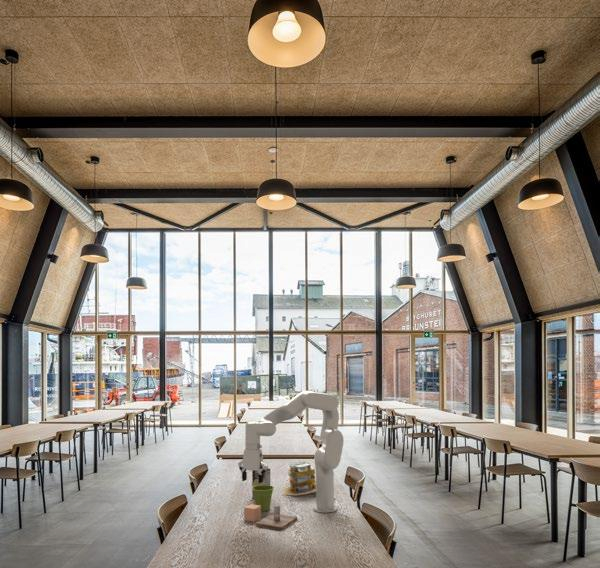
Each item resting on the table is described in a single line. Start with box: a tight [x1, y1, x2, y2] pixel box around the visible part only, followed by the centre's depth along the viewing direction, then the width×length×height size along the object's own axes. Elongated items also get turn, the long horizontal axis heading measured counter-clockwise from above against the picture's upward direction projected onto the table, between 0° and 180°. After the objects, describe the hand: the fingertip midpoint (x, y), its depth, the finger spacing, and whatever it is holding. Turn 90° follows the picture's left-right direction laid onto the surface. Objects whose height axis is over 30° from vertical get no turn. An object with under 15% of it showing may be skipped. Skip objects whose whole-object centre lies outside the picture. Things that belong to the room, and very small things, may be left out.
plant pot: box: [251, 484, 275, 512], centre depth 265 cm, size 12×12×11 cm
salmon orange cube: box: [243, 503, 262, 523], centre depth 250 cm, size 6×6×6 cm
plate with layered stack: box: [283, 460, 316, 496], centre depth 299 cm, size 25×25×17 cm
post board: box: [255, 504, 298, 532], centre depth 244 cm, size 16×14×8 cm
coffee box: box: [251, 467, 271, 499], centre depth 287 cm, size 9×6×16 cm
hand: (252, 481), depth 252 cm, fingers open, 9 cm apart
